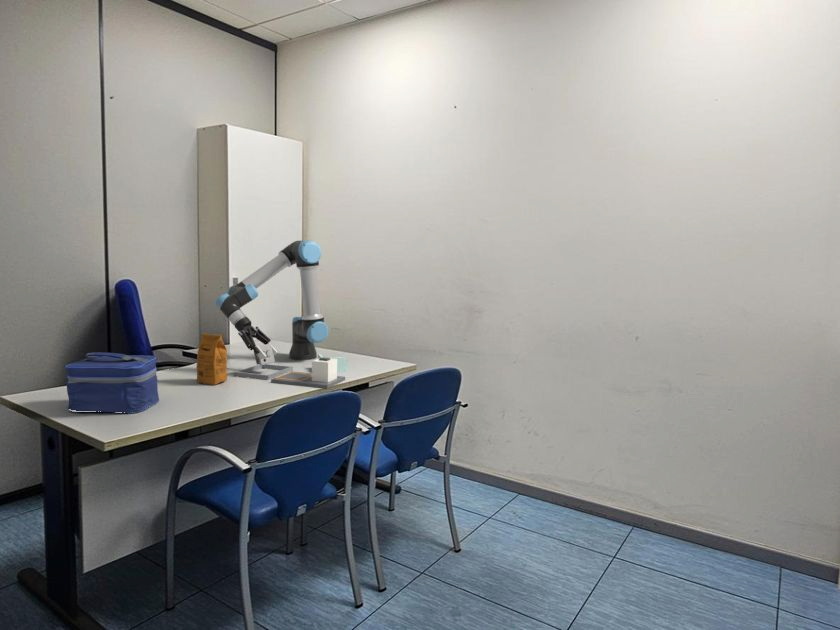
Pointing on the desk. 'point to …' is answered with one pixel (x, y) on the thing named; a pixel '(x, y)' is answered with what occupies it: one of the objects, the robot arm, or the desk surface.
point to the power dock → (307, 381)
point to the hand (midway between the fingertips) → (269, 355)
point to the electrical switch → (267, 351)
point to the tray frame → (260, 376)
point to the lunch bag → (112, 383)
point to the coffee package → (211, 360)
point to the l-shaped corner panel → (339, 363)
